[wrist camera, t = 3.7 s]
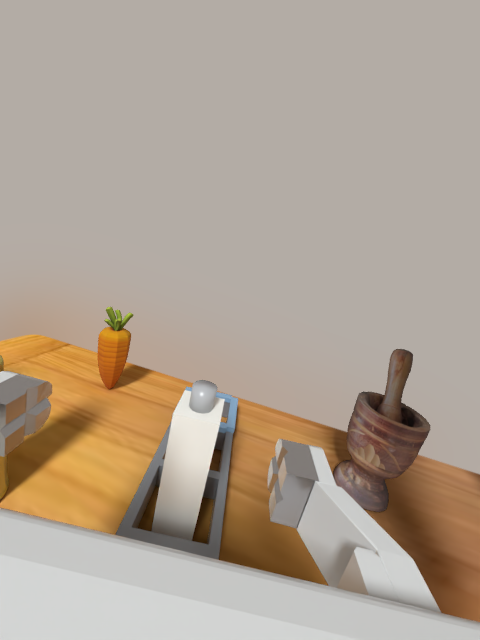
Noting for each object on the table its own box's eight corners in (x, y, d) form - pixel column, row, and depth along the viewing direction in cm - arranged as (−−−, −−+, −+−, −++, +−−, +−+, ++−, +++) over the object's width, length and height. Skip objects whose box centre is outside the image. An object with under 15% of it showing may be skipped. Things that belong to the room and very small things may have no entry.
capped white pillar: (198, 508, 29) (229, 381, 25) (190, 547, 25) (224, 403, 21) (163, 500, 29) (188, 371, 25) (149, 538, 25) (177, 392, 21)
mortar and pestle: (319, 444, 45) (358, 336, 40) (369, 457, 44) (414, 349, 40) (338, 506, 34) (395, 366, 29) (405, 524, 33) (474, 385, 28)
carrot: (130, 386, 48) (140, 309, 45) (112, 400, 44) (122, 314, 40) (106, 378, 49) (115, 302, 46) (86, 391, 44) (94, 306, 41)
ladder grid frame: (233, 415, 47) (238, 396, 46) (212, 585, 23) (221, 553, 22) (183, 403, 47) (187, 385, 46) (109, 561, 23) (114, 529, 22)
